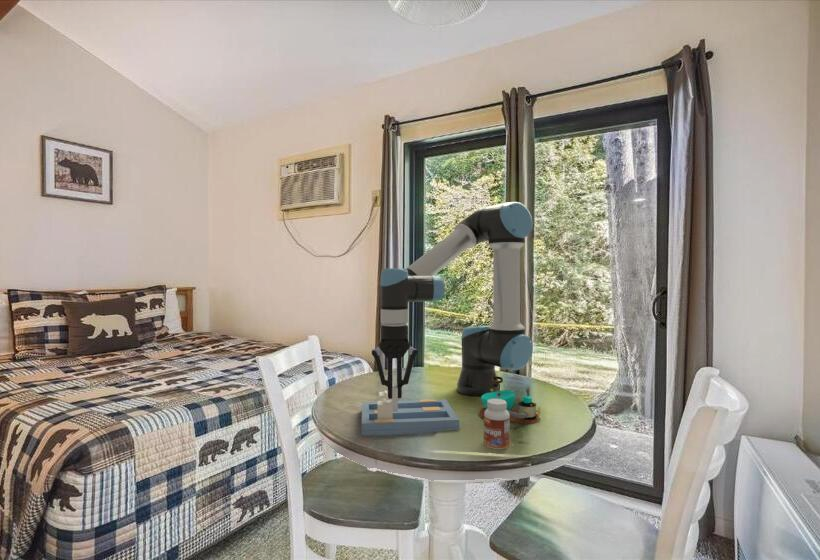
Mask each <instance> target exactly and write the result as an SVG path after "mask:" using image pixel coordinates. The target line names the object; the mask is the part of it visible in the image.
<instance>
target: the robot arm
mask: <svg viewBox="0 0 820 560" xmlns="http://www.w3.org/2000/svg"><path fill="white" fill-rule="evenodd" d="M453 229H454V230H453V231H452V232H451V233H450V234H448V235H447V236H446V237H444V238H443V239H442V240H440V241H439V242H438V243H437V244H435V245H434V246H433V247H431V249H429V250H428V251H427V252H425V253H424V254H422V256H420V257H419V258H417V259H416V260H415V261H413V262H412V263H411V264H410V265H409V266H407V267H406V268H400V267H399V268H397V267H396V268H391V267H390V268H384V269H382V270H381V272H380V280H379V281H380V284H379V286H380V324H381V325H380V341H379V344H378V346H377V347H376V348H375V349H374V348H373V349H372V350H371V355H372V356H373V358H374V359H375V363H376V368H377V370H378V371H377V372H378V375H379V379H380V383H381V385H382V386H386V387H387V392H388V398H389V399H392V404H393V412H396V411H398V401H399V399H402V397H403V396H402V394H403V392H402V391H403V390H402V389H403V386H407V385H408V384H409V381H410V377H411V373H412V368H413V365H414V360H415V359H416V356H417V355H418V353H419V352H418V350H417V348H414V347H412V346H411V344H410V341H409V325H408V323H409V303H413V302H414V303H415V302H416V303H417V302H418V303H420V302H421V303H422V302H430V303H431V302H436V301H437V302H438V301H441V300H442V299H443V297H444V295H445V292H446V285H445V282H444V280H443V278H442V277H441V276H439V275H437V274H438V273H439V272H440V271H442V270H443V269H444V268H445V267H446V266H448V264H450V263H452V262H453V261H454V260H455V259H457V257H459V256H460V255H461V254H463V252H465V251H466V250H467V249H473V248H475V247H476V246H477V245H479V244H481V243H485V242H488V246H489V247H490V248H491V249H492V251H493V255H492V257H493V259H492V260H493V261H492V263H493V264H492V265H493V266H492V268H493V269H492V271H493V273H492V275H493V277H492V279H493V281H492V282H493V283H492V284H493V286H492V288H493V289H492V294H493V295H492V296H493V298H492V299H493V306H492V307H493V308H492V309H493V319H492V320H493V322H492V323H491V324H490V325H479V326H466V327H463V329H462V331H461V340H460V341H461V371H460V374H459V377H458V379H457V383H456V391H457V392H458V393H460V394H463V395H467V396H473V397H481V396H482V395H483V394H486V393H490V392H496V391H499V384H500V383H499V384H496V383H495V384H494V386H493V382H492V378H493V377H496V376H498V375H497V372H496V367H498V368H503V369H504V370H513V371H518V370H522V369H523V368H525V367H526V366H527V364H528V363H529V362H530V361H531V359H532V355H533V351H534V347H533V346H534V345H533V341H532V340H531V338H530V337H529V336H528V335H526V333H525V332H526V327H525V326H524V325H523V324H522V323H521V249H522V248H523V247H524V246H525V244H526V242H525V241H526V240H525V238H527V237H528V236H529V235H530V234H531V232H532V229H533V216H532V215H531V213H530V211H529V209H527V206H525V204H523V203H522V202H518V201H511V202H510V201H509V202H503V203H499V204H494V205H490V206H489V205H488V206H484V207H481V208H479V209H477V210H475V211H474V212H472V213H471V214H470V215H468V216H467V217H466V218H464V219H463V220H461V222H459V223H458V224H456V225H455V226H454V228H453ZM381 352H382V354H383V355H384V356H385V358H387V359H386V360H387V379H386V377H385V374H384V369H383V365H382V361H381V357H380V356H381ZM407 352H408V355H409V356H408V357H407V363H406V367H405V370H404V371H405V372H404V376H403V374H402V373H403V364H402V362H403V357H404V356H405V355H406V353H407ZM393 359H396V384H395V385H394V384H393ZM494 381H499V379H494ZM492 386H493V388H492ZM490 389H493V391H491V390H490Z"/></svg>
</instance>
